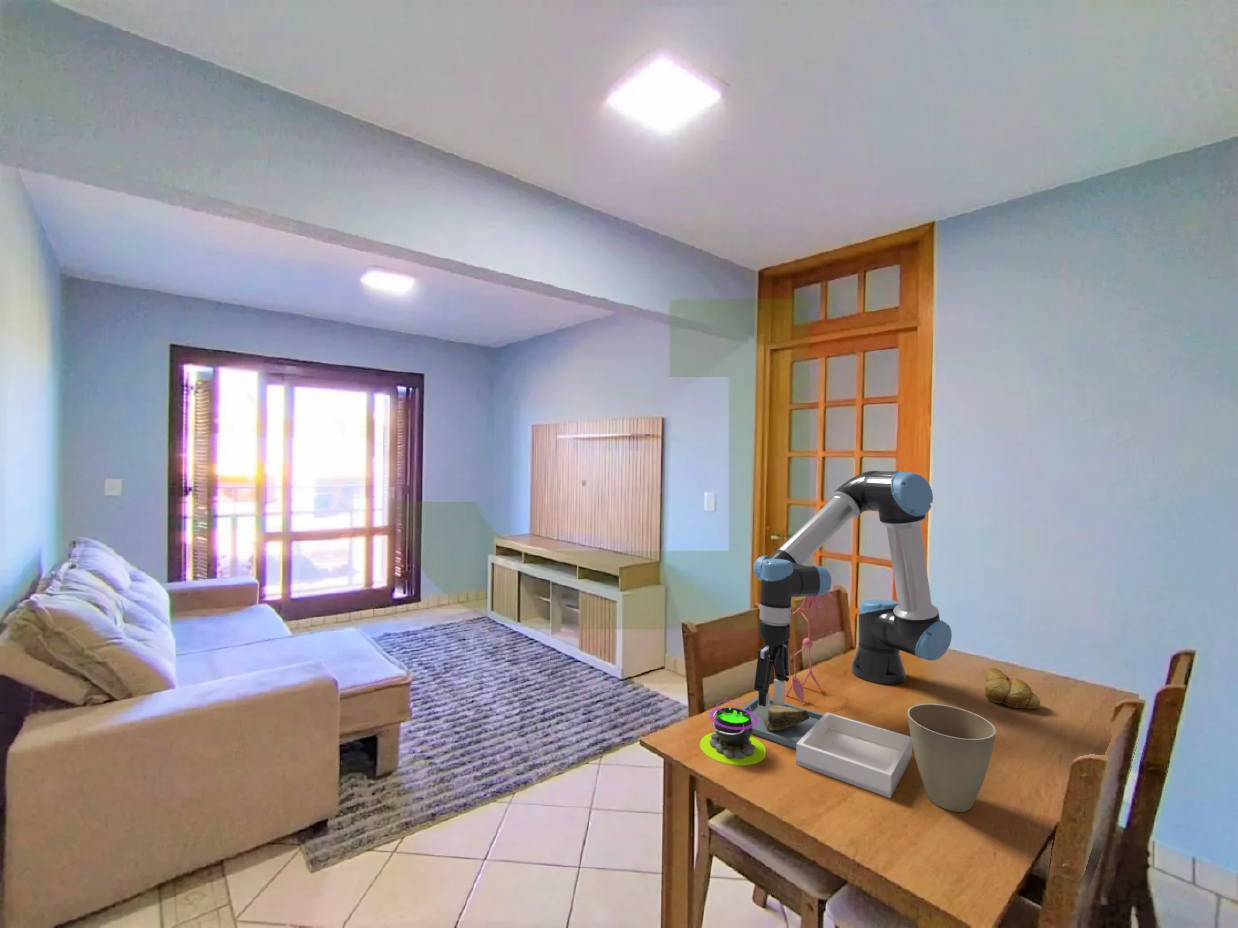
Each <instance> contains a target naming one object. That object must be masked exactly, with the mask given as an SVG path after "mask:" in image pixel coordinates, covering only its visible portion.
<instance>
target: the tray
mask: <svg viewBox="0 0 1238 928" xmlns="http://www.w3.org/2000/svg"><path fill="white" fill-rule="evenodd" d="M746 704H747V705H746ZM746 704H744V706H741V707H740V708H741V710H742V709H743V710H744V709H745V710H746V711H747V712H749V711H750V713H752V714H753V713H754V714H755V716H756V720H757V722H759V723H756V724H757V725H756V724H754V726H755V725H756V726H755V727H753V728H752V735H753V736H756V737H758V738H761V739H763V740H766V741H770V742H772V743H775V744H778V745H782V746H784V747H787V748H790V749H793V750H795V751H796V743H797V742H798V741H799V740H800V739H801V738H802V737H803V736H804V735H805V734H806V733H807V732H808V731H809V730H810V729H811V728H812V727H813V726H814V725H815V724H816V723H817V722H818V721H819V720H820V719H821V718H822V716H823V715H824V714H825V713H820V712H818V711H814V710H811V709H807V708H804V707H800V706H798V705H794V704H791V703H787V702H784V706H789V707H793V708H799V709H804V710H806V711H807V713H808V715H809V719H808V720H805V721H804V722H801V723H799V724H796V725H793V726H790V727H788V728H785V729H781V730H772V731H770V729H768V728H766V725H765V723H764V720H763V718H760V717H757V711H758V695H757V696H756V697H754V698H753V699H752V700H750V701H749V702H748V703H746ZM770 704H773V698H770ZM748 705H749V707H748ZM750 707H751V710H750ZM748 714H749V713H748ZM749 715H750V714H749ZM753 716H754V715H753ZM755 716H754V717H755ZM750 718H751V722H752V723H753V722H755V721H756V720H755V721H754V719H755V718H753V717H752V716H751V715H750ZM757 718H758V719H759V720H758V719H757ZM752 726H753V725H752ZM752 735H751V736H752Z"/></svg>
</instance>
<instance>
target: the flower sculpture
mask: <svg viewBox="0 0 1238 928" xmlns="http://www.w3.org/2000/svg"><path fill="white" fill-rule="evenodd" d="M825 595H827V596H828V597H829V598H830V599H831V600H832V601H833V602H835V603H836V602H837V600H836V599H835V597H833V595H832V594H831V593H830V591H828V592H827V593H826V594H825ZM823 607H824V601H823V595H818V596H805V599H804V600H803V602H802V604H801V605H800V607H798V608H797V609H796V610H795V611H794V612H793V610H792V609H791V621H792V620H793V619H792V617H793V616H794V615H795V614H797V613H798V612H799V613H800V614H801V615H802V616H803V617H802V618H804V620H805V621H806V623H807V634H808V635H807V636H808V637H805V638H803V640H802V646H803V647H802V648H800V650H798V651H797V652H796V653H794V654H793V667H794V668H793V669H794V676H792V677H791V678H790V679H791V681H790V682H791V684H790V686H789V688H788V690H787V692H786V693H785V697H788V696H789V694H790V692H791V690H793V692H794V695H795V696H796V697H797V699H798V700H799V701H800V702H801V704H804V701H805V691H804V685H805V684H806V682H807V680H808V678H809V677H811V678H812V680H813V682H814V683H815V685H816V686H817V687H818V689H819V690H822V688H821V686H820V684H819V682H818V680H817V678H816V677H815V675H814V674H813V670H812V661H811V658H812V657H811V647H813V644H814V642H813V640H812V639H811V622H810V621H809V619H808V617H807V616H806V615H805V614H804V613H803V611H807V610H808V612H809V617H810V618H813V617H814V616H816V615H817V612H818V609H819V610H820V609H822V608H823ZM791 621H790V623H791ZM805 648H806V649H807V650H808V658H809V668H807V670H808V672H807V674H806V675H805V678H804V679H803V682H802V683H801V681H800V680H799V677H797V669H796V656H797V655H798V654H799V653H800V652H802V651H803V650H805ZM841 693H842V694H843V695H845V694H844V692H843V691H841ZM843 705H844V706H845V705H846V702H844V703H843V704H842V705H840V706H837V707H834V708H833V710H835V709H838V708H841V707H843ZM829 710H830V711H832V708H829Z"/></svg>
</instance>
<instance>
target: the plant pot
mask: <svg viewBox="0 0 1238 928" xmlns="http://www.w3.org/2000/svg"><path fill="white" fill-rule="evenodd" d="M907 721H908V726H909V727H908V728H909V733H910V737H911V740H912V751H913V753H914V757H915V761H916V765H917V768H918V771H919V775H920V778H921V781H922V784H923V787H924V789H925V792H926V794H927V798H928V799H929V800H930V801H931V802H932V803H933V804H935V805H936V806H938V807H940V808H942V809H944V810H947V811H949V812H956V813H964V812H967V811H970V810H971V809H972V807H973V804H974V803H975V801H976V799H977V797H978V794H980V793H979V792H980V790H981V788H982V785H983V784H984V781H985V778H986V774H987V771H988V768H989V765H990V761H991V758H992V753H993V749H994V743H995V738H996V734H997V730H996V727H995V725H994V724H992V723H991V722H990V721H988V720H987V719H986V718H984V717H982V716H980V715H979V714H976V713H974V712H972V711H969V710H967V709H963V708H960V707H956V706H950V705H946V704H939V703H920V704H915V705H912V706H910V707H909V708H908V710H907Z"/></svg>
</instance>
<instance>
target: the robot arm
mask: <svg viewBox="0 0 1238 928" xmlns="http://www.w3.org/2000/svg"><path fill="white" fill-rule="evenodd" d="M933 501H934V496H933V490H932V487H931V484H930V483H929V481H928V480H927V479H926V477H923V476H922V475H920V474H919V473H916V472H909V471H904V470H903V471H898V470H897V471H895V470H894V471H890V470H889V471H887V470H886V471H883V470H882V471H881V470H869V471H865V472H862V473H860V474H857V475H856V476H855V475H854V476H853V477H852V478H850V479H849V480H847V481H845V482H844V483H843V484H841V485H840V486H838V488H837V489H836V490H835V491H833V492H832V494H831V495H830V500H829V501H828V502H827V503H826V504H825V505H824V506H823V507H822V508H821V509H819V511H817V512H816V513H815V514H814V515H813V516H812V517H811V518H810V519H809V520H807V522H806V523H804V525H802V526H801V527H800V528H799V529H798V530H797V531H796V532H795V533H794V534H793V535H792V536H790V538H789V539H787V540H786V542H784V544H783V543H782V545H781V546H780V547H779V548H778V549H777V550H776V551H774V553H773V554H772V555H762V556H759V557H758V558H757V559H756V560H755V562H754V564H753V574H754V576H755V577H756V579H757V580H759V582H760V594H759V595H760V597H759V599H760V600H759V603H760V604H759V605H758V609H759V619H760V621H759V622H758V636H759V637H760V638H762V639H763V640H764V642H763V646H762V649H761V648H758V649H757V661H756V669H755V670H756V671H755V678H754V685H753V690H754V691H756V692H757V696H758V711H757V717H760V718H763V719H766V720H769V706H770V699H771V691H769V689H770V684H771V680H772V676H773V672H774V676H775V678H774V679H773V690H772V692H773V693H772V694H773V695H772V699H773V704H774V705H782V706H784V703H785V694H786V693H785V691H786V690H785V688H786V682H789V681H790V677H789V675H790V666H789V663H790V662H789V642H790V641H789V639H790V635H791V625H790V624H791V622H790V621H792V619H791V610H792V599H793V598H801V597H806V596H818V595H827V594H826V593H827V592H830V590H831V587H832V576H831V574H830V572H829V571H828V570H827V569H826V568H825V567H823V566H822V565H821V566H820V565H810V566H809V565H804V564H805V563H806V562H807V561H808V560H809V559H810V558H811V557H812V556H813V555H814V554H815V553H816V552H817V551H818V550H819V549H820V548H822V546H824V544H826V542H827V541H829V540H830V539H831V538H832V536H834V535H835V533H837V532H838V531H839V530H840V529H841V528H842V527H843V526H844V525H845V524H846V523H848V521H849V520H850V519H856V518H858V517H859V516H860V515H861V514H862V513H864V512H868V511H873V512H876V511H877V512H878V517H879V522H880V523H881V524H883V525H884V526H885V527H886V531H887V536H888V537H887V538H888V546H889V552H890V559H891V565H892V572H893V573H892V574H893V579H894V586H895V591H896V592H895V593H896V600H892V599H891V600H889V599H867V600H863V601H861V602H860V605H859V610H858V647H857V649H856V652H855V654H854V657H853V659H852V663H851V673H852V674H853V675H854V676H856V677H858V679H862V680H865V681H867V682H872V683H875V684H883V685H898V684H902V683H904V682H905V681H906V670H905V667H904V663H903V660H902V657H901V653H900V652H904V653H907V654H910V655H913V657H916V658H918V659H924V660H927V661H930V662H931V661H933V662H934V661H937V660H939V659H940V658H942V657H943V656H945V654H946V653H947V651H948V649H949V648H950V646H951V643H952V636H953V634H952V633H953V632H952V628H951V626H950V625H949V624H948V623H947V622H945V621H943V620H941V619H940V618H941V617H940V611H939V609H938V607H936V606H935V605H934V604H932V596H931V590H930V584H929V583H930V582H929V576H928V571H927V562H926V554H925V550H924V549H925V548H924V541H923V534H922V526H921V523H923V522H924V520H925V519H926V514H927V513H928V512H929V511H930V510H931V508H932V504H933Z"/></svg>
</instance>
